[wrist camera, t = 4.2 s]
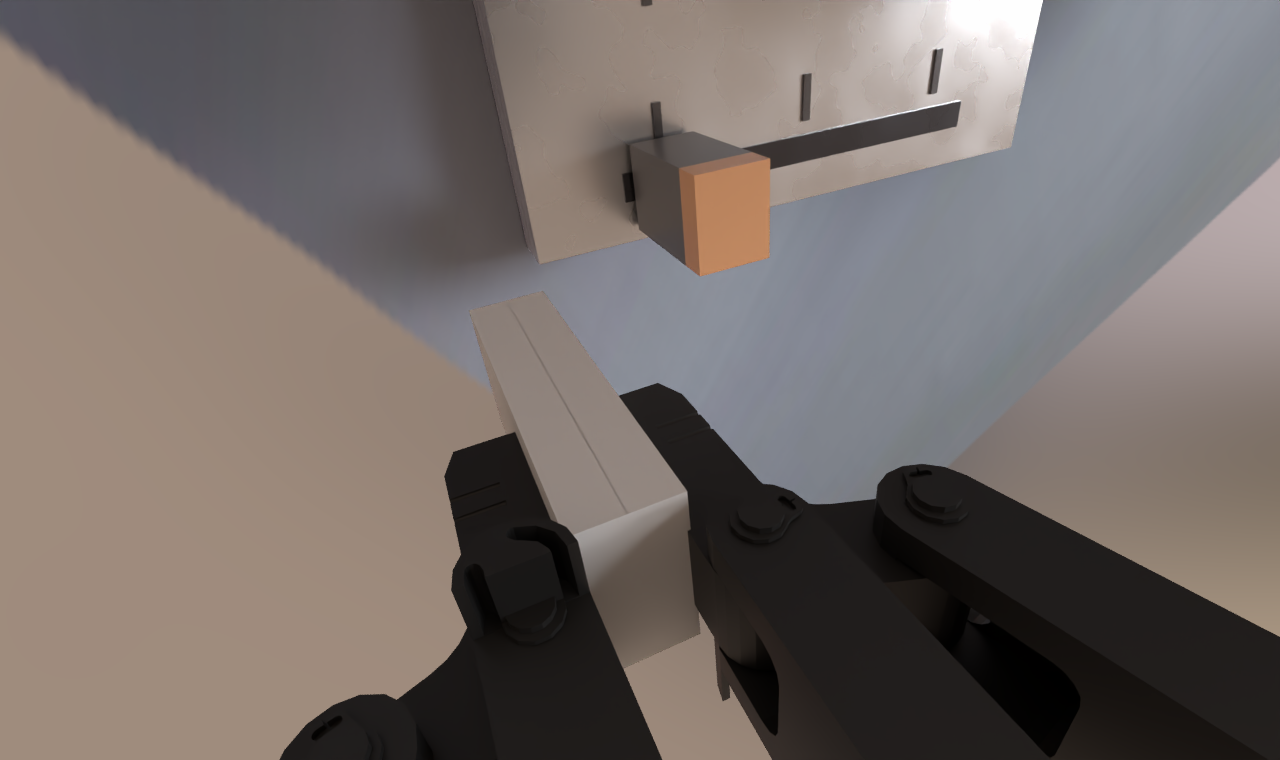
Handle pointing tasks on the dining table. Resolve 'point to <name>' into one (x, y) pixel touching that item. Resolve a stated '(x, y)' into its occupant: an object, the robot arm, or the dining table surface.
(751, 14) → the console
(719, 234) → the fader
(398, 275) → the dining table surface
